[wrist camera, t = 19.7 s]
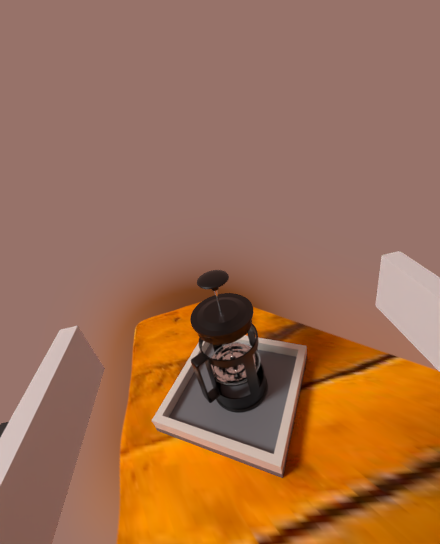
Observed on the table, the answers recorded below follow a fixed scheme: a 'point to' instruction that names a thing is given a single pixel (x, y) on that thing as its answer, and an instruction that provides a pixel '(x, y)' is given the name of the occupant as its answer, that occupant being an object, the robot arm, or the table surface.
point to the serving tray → (246, 425)
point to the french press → (228, 345)
